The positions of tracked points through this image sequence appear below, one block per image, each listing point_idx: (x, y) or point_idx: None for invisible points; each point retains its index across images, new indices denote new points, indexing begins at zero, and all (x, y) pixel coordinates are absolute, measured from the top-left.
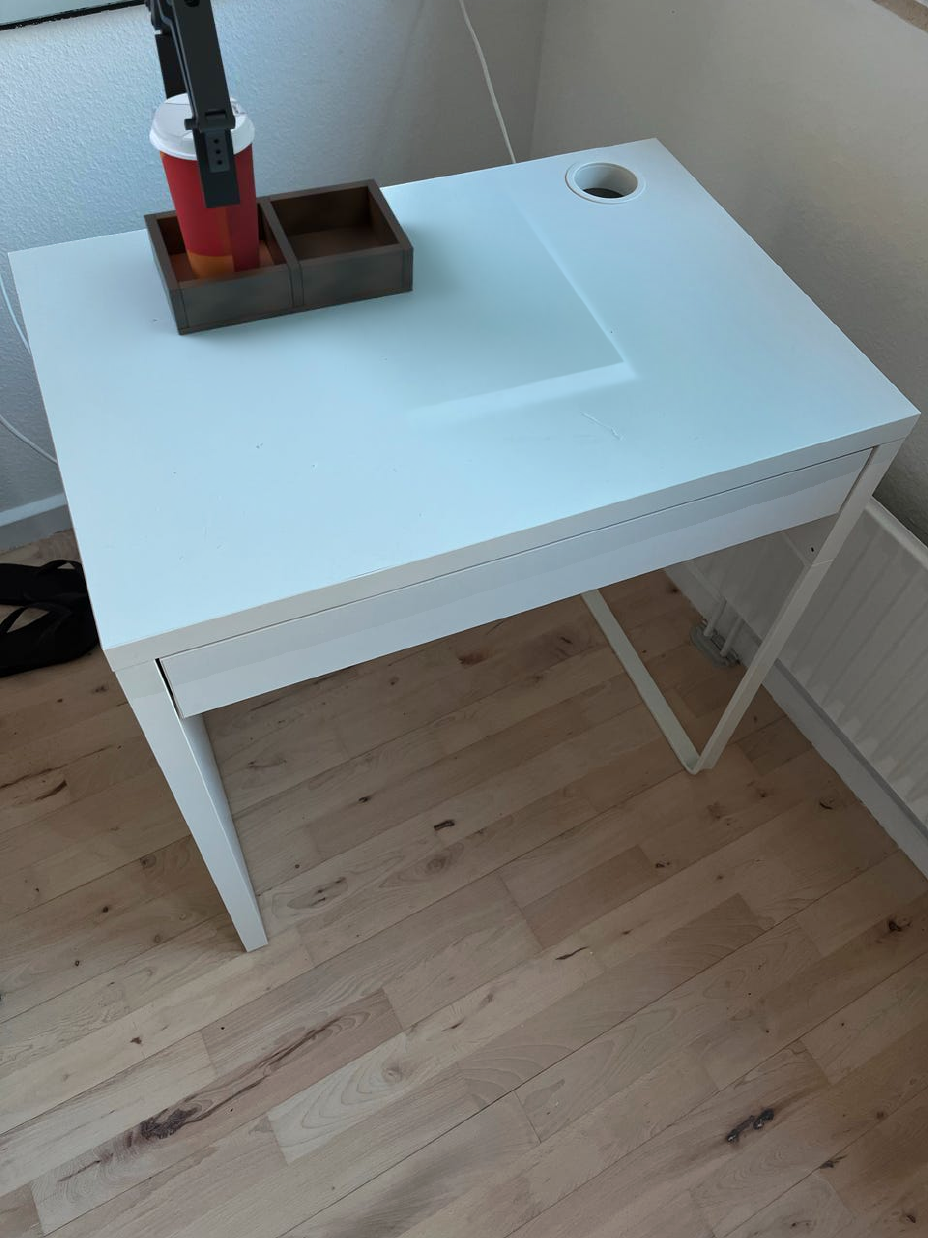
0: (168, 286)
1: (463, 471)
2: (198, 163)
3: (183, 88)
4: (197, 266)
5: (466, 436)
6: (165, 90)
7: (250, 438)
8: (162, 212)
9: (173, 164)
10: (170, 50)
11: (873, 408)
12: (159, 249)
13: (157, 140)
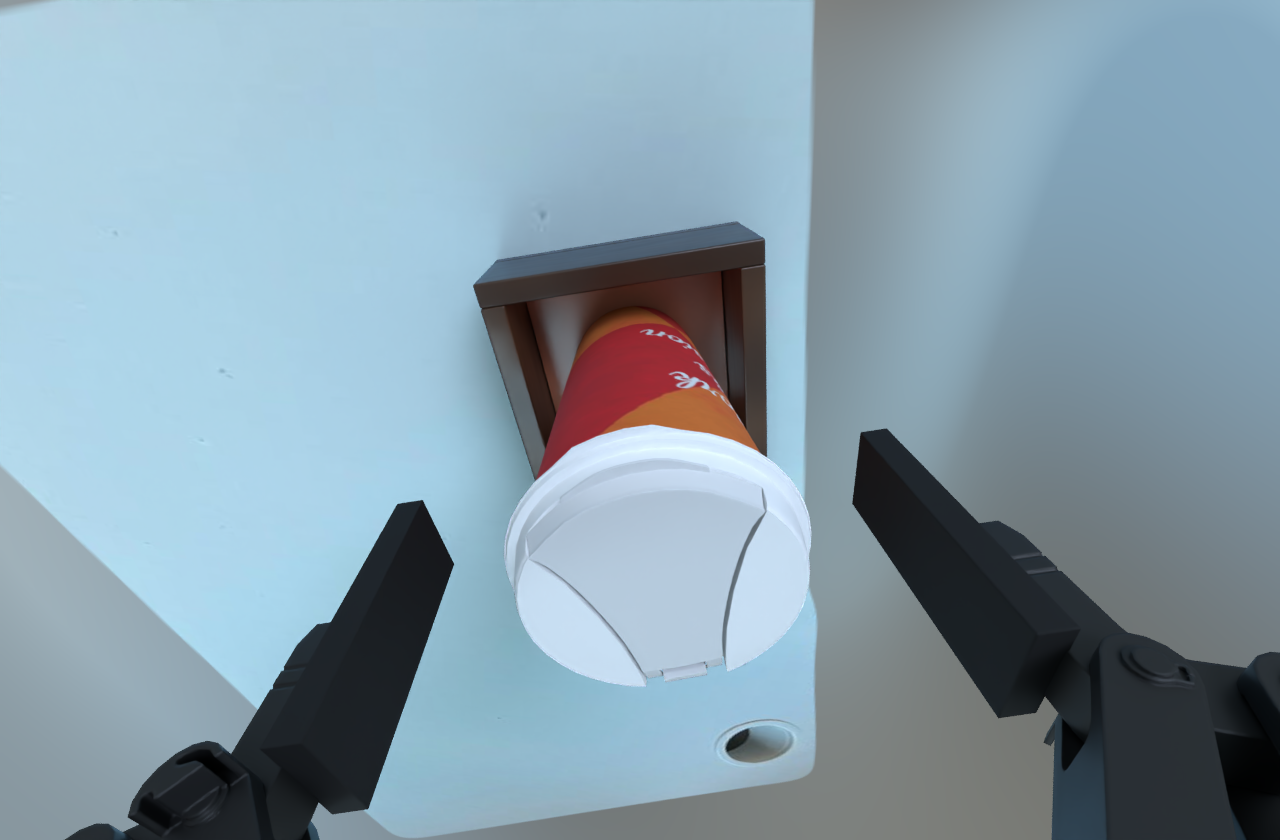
0: (487, 285)
1: (241, 588)
2: (345, 606)
3: (897, 531)
4: (592, 335)
5: (305, 597)
6: (914, 481)
7: (239, 361)
8: (760, 283)
9: (558, 457)
10: (982, 620)
11: (399, 829)
12: (624, 270)
13: (604, 456)
